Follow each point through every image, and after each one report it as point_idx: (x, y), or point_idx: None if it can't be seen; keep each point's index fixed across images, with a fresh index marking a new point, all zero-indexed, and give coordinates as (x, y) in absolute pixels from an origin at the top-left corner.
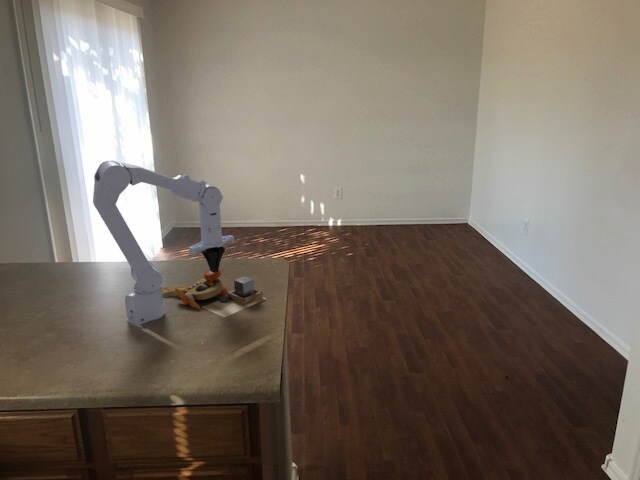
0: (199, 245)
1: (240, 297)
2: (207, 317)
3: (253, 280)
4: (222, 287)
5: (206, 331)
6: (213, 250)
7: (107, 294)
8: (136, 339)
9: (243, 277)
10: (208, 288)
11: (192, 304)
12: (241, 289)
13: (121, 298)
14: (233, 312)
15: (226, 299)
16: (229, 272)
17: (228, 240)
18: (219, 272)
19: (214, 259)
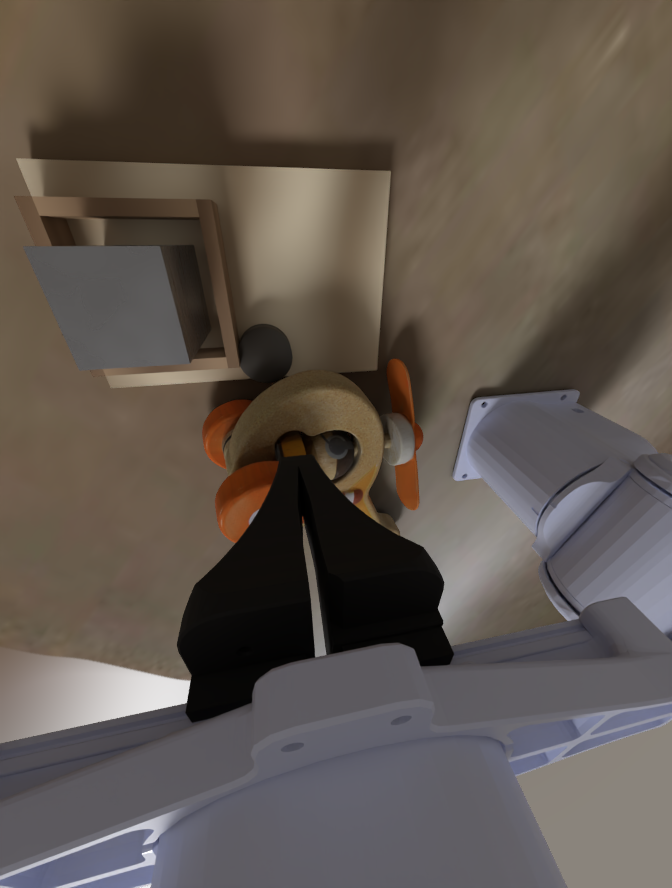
0: (583, 737)
1: (213, 249)
2: (404, 287)
3: (30, 246)
4: (253, 404)
5: (511, 151)
6: (350, 626)
7: (447, 600)
8: (636, 337)
9: (98, 355)
10: (325, 429)
11: (404, 400)
12: (180, 272)
13: (447, 572)
14: (317, 180)
15: (272, 328)
16: (90, 575)
17: (1, 813)
18: (234, 486)
19: (346, 517)
